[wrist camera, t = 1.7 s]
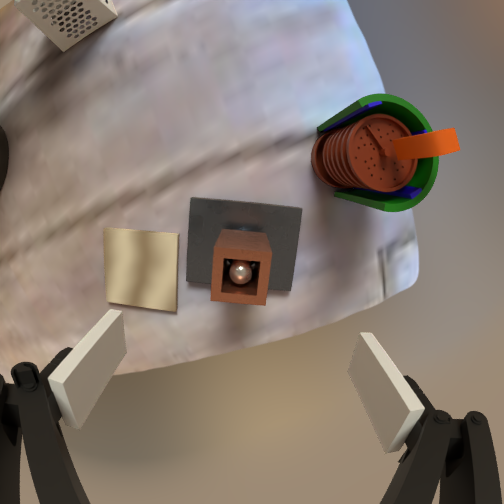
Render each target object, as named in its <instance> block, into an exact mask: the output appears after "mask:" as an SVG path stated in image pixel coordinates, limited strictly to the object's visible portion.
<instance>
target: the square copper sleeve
mask: <svg viewBox="0 0 504 504" xmlns="http://www.w3.org/2000/svg"><path fill="white" fill-rule="evenodd" d="M228 259H238V260H249V261H255V263H254V266H251V270H252V275H251V278H250V280H249V281H248V282H246V283H244V284H237V283H235V282H234V281H232V279H231V278H230V268H231V264H227V260H228ZM271 259H272V250H271V247H270V244H269V241H268V238H267V235H266V233H261V232H251V231H241V230H230V229H222V231H221V233H220V235H219V237H218V239H217V241H216V244H215V246H214V253H213V267H212V283H211V300H210V301H220V302H230V303H241V304H252V305H264V306H265V305H266V298H267V290H268V282H269V274H270V267H271Z"/></svg>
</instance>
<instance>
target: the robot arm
mask: <svg viewBox="0 0 504 504" xmlns="http://www.w3.org/2000/svg"><path fill="white" fill-rule="evenodd" d="M7 166H8V142H7V138H6V134H5V132H4V130H3V129H2V127H1V126H0V190H1V187H2V185H3V182H4V179H5V176H6V172H7ZM126 353H127V351H126V343H125V334H124V324H123V312H122V311H118V310H113V309H110V310H109V311H108V312H107V313H106V314H105V315H104V316H103V317H102V318H101V319H100V320H99V322H98V323H97V324H96V325H95V326H94V327H93V328H92V329H91V330H90V331H89V332H88V333H87V334H86V335H85V337H84V338H83V339H82V340H81V341H80V342H79V343H78V344H77V345H76V346H75V348H74V349H73V348H70V347H67V348H65V349H64V350H62V351H60V352H59V353H58V354H57V355H56V356H55V358H53V359H52V361H51V362H50V363H49V364H48V365H47V366H46V367H45V368H44V369H43V370H42V371H41V373H40V374H39V371H38V368H37V366H36V365H35V364H34V363H31V362H21V363H18V364H16V365H15V366H14V367H13V368H12V369H11V375H12V378H13V381H14V383H15V384H9V383H6V382H5V380H4V378H3V376H2V375H1V374H0V504H20V485H19V484H20V455H21V441H22V434H23V440H24V445H25V450H26V455H27V459H28V463H29V468H30V472H31V475H32V479H33V482H34V486H35V489H36V492H37V496H38V499H39V502H40V504H90V502H89V500H88V498H87V496H86V493H85V491H84V489H83V487H82V485H81V483H80V480H79V478H78V476H77V473H76V470H75V468H74V465H73V463H72V460H71V457H70V454H69V452H68V449H67V446H66V443H65V440H64V437H63V434H62V431H61V427H60V425H59V422H58V421H59V420H60V418H61V417H62V418H63V420H64V422H65V424H66V425H67V426H70V427H73V428H75V429H78V430H80V429H81V427H82V425H83V424H84V422H85V420H86V418H87V417H88V415H89V413H90V412H91V410H92V408H93V406H94V405H95V403H96V401H97V400H98V398H99V396H100V394H101V393H102V391H103V390H104V388H105V387H106V385H107V383H108V382H109V380H110V378H111V377H112V375H113V373H114V372H115V370H116V369H117V367H118V365H119V364H120V362H121V361H122V359H123V357H124V356H125V354H126ZM348 373H349V376H350V378H351V380H352V382H353V384H354V386H355V388H356V390H357V393H358V395H359V396H360V399H361V401H362V403H363V405H364V408H365V410H366V412H367V414H368V416H369V419H370V421H371V423H372V425H373V427H374V430H375V432H376V434H377V436H378V439H379V441H380V443H381V445H382V447H383V450H384V452H385V453H390V452H395V451H399V450H400V449H401V447H402V446H403V444H404V443H406V445H407V447H408V448H407V450H406V451H405V453H404V454H403V455H402V457H401V459H400V460H399V461H398V462H399V463H400V464H399V467H398V469H397V471H396V473H395V475H394V477H393V479H392V481H391V483H390V485H389V487H388V489H387V491H386V493H385V495H384V497H383V499H382V501H381V502H380V504H432V501H433V498H434V495H435V492H436V489H437V486H438V483H439V480H440V500H439V504H502V498H501V488H500V481H499V473H498V467H497V461H496V456H495V451H494V446H493V442H492V437H491V432H490V428H489V425H488V420H487V418H486V417H485V416H484V415H483V414H482V413H480V412H477V411H470V412H469V413H467V415H466V416H465V418H464V419H452V417H451V416H450V415H449V414H448V413H447V412H444V411H442V410H435V408H434V407H433V406H432V404H431V403H430V401H429V400H428V398H427V397H426V396H425V394H423V391H422V390H421V389H419V386H418V384H417V383H416V382H415V381H414V380H413V379H411V378H410V377H409V376H408V375H407V376H402V374H401V373H400V371H399V370H398V369H397V367H396V366H395V364H394V363H393V362H392V360H391V359H390V357H389V356H388V355H387V353H386V352H385V351H384V349H383V348H382V346H381V345H380V344H379V342H378V341H377V340H376V338H375V337H374V336H373V334H372V333H359V336H358V340H357V344H356V347H355V350H354V353H353V356H352V360H351V363H350V366H349V369H348Z"/></svg>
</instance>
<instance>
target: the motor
mask: <svg viewBox="0 0 504 504" xmlns="http://www.w3.org/2000/svg"><path fill="white" fill-rule="evenodd" d="M335 127H342V129H335V130H332V131H329V132H328V133H326V134H324V135H322V136H321V137H320V138H319V139H318V140H317V141H316V143H315V144H314V146H313V149H312V153H311V162H312V166H313V169H314V171H315V173H316V175H317V176H318V177H319V178H320V179H321V180H322V181H323V182H324V183H326V184H328V185H330V186H333V187H338V188H352V187H353V188H354V189H352V190H349V191H345V192H335V193H334V196H335V197H338V198H342V199H345V200H349V201H352V202H356V203H359V204H362V205H366V206H369V207H372V208H375V209H379V210H382V211H386V212H399V211H404V210H407V209H410V208H412V207H414V206H415V205H417V204H418V203H420V202H421V201H422V200H423V199H424V198H425V197H426V196H427V194H428V193H429V191H430V190H431V188H432V186H433V184H434V182H435V179H436V176H437V172H438V164H439V156H440V155H445V154H448V153H452V152H456V151H459V150H460V147H459V143H458V139H457V135H456V132H455V128H450V129H443V130H439V131H432V129H431V127H430V125H429V123H428V122H427V120H426V119H425V117H424V116H423V115H422V114H421V113H420V111H418V109H416V108H415V107H414V106H413V105H412V104H410V103H409V102H407V101H405V100H404V99H402V98H399V97H397V96H393V95H389V94H372V95H368V96H365V97H363V98H361V99H359V100H357V101H356V102H354V103H353V104H351V105H350V106H348V107H347V108H345V109H344V110H342V111H341V112H339V113H338V114H336V115H335V116H333V117H332V118H330V119H329V120H327V121H326V122H324V123H323V124H322V125H320V126H319V127H317V129H318V130H319V132H320V131H322V130H324V132H325V131H328V130H331V129H334V128H335Z"/></svg>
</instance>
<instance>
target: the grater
mask: <svg viewBox="0 0 504 504" xmlns="http://www.w3.org/2000/svg"><path fill="white" fill-rule="evenodd" d="M105 1H106V0H14V6H15V7H16V8H17V9H18V10H19V11H20V12H21V13H23V14H24V15H25V16H26V17H27V18H28V19H29V20H30V21H31V22H32V23H33V24H34V25H35V26H36V27H37V28H39V29H40V30H41V31H42V32H43V33H44V34H45V35H46V36H47V37H48V38H49V39H50V40H51V41H52V42H53V43H54V44H56V45H57V46H58V47H59V48H60V49H61V50H62V51H63V52H65V51H66V50H67V49H69V48H70V47H71V46H73V45H74V44H76V43H77V42H78V41H80V40H81V39H83V38H84V37H86V36H87V35H89V34H90V33H92V32H93V31H95V30H96V29H98V28H100V27H101V26H103V25H104V24H106V23H108V22H109V21H111V20H113V19H115V18H116V17H118V15H117V13H116V10H115V7H114V4H113V2H112V0H107V1H108V4H107V3H106V2H105ZM75 2H76V3H75ZM80 2H82V3H83V5H82V6H80V7H78V6H77V4H78V3H80ZM73 3H75V4H74V5H72V4H73ZM69 6H70V7H69ZM67 7H69V8H68V9H66V8H67ZM72 7H76V10H74V11H71V10H70V9H71V8H72ZM80 8H84V10H83V11H82V12H78V10H79V9H80ZM65 9H66V10H65ZM87 10H90V13H89V14H85V11H87ZM62 11H63V12H62ZM67 11H68V12H70V13H69V15H67V16H64V13H65V12H67ZM61 12H62V13H61ZM74 12H76V13H77V15H76V16H74V17H73V16H72V14H73V13H74ZM59 13H61V14H59ZM58 14H59V15H58ZM81 14H83V15H84V17H83V18H78V17H79V15H81ZM88 15H90V16H91V18H90V19H86V17H87V16H88ZM60 16H62V17H63V19H62V20H60V21H58V20H57V18H58V17H60ZM51 17H52V19H51ZM67 17H70V18H71V19H70V20H69V21H65V19H66V18H67ZM93 17H97V19H96V20H95V21H92V20H91V19H92V18H93ZM73 19H77V22H75V23H72V20H73ZM81 20H85V22H84V23H82V24H80V23H79V22H80V21H81ZM87 21H90V22H91V23H90V24H88V25H86V24H85V23H86V22H87ZM52 22H53V25H52ZM60 22H64V24H63V25H62V26H59V23H60ZM94 22H98V24H97V25H95V26H93V25H92V24H93V23H94ZM68 23H70V24H71V26H70V27H66V24H68ZM75 24H78V27H76V28H73V26H74V25H75ZM81 25H84V28H82V29H79V27H80V26H81ZM88 26H91V29H89V30H87V29H86V28H87V27H88ZM61 28H65V30H64V31H63V32H60V31H59V30H60V29H61ZM69 28H72V31H71V32H67V30H68V29H69ZM76 29H77V30H78V32H77V33H73V31H74V30H76ZM82 30H85V33H83V34H80V32H81V31H82ZM68 34H72V36H71V37H69V38H68V37H67V35H68ZM76 34H79V37H77V38H74V36H75V35H76Z"/></svg>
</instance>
